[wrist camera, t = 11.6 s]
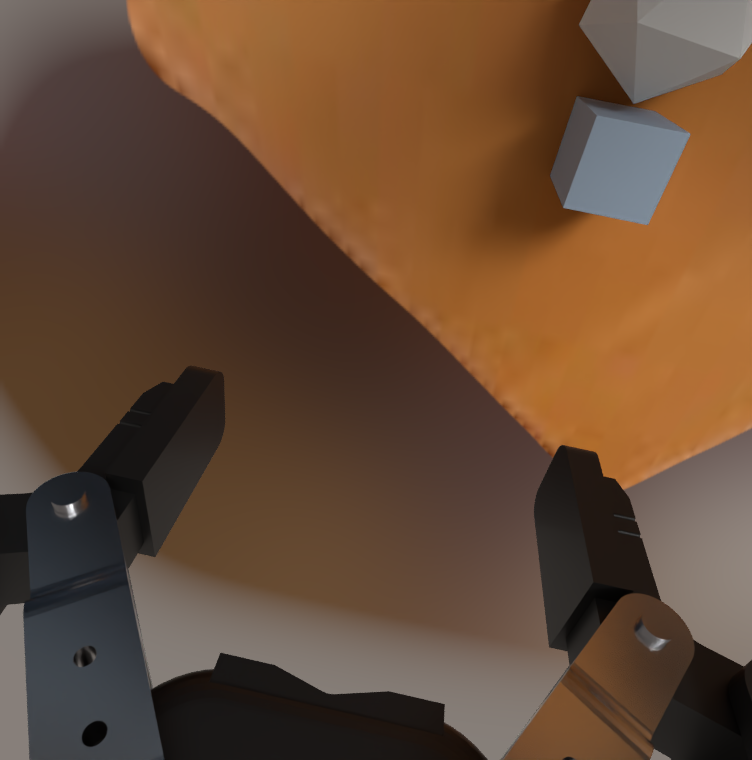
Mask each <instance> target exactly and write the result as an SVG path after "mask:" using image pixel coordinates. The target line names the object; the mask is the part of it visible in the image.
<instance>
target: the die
mask: <svg viewBox="0 0 752 760" xmlns="http://www.w3.org/2000/svg"><path fill="white" fill-rule="evenodd" d="M579 26H580V27H581V29H582V30H583V32H584V33H585V35H586V36H587V38H588V39H589V40H590V42H591V43H592V45H593V46H594V48H595V49H596V50H597V52H598V53H599V55H600V56H601V58H602V59H603V60H604V62H605V63H606V65H607V66H608V68H609V69H610V71H611V72H612V73H613V75H614V76H615V78H616V79H617V81H618V82H619V83H620V85H621V86H622V88H623V89H624V91H625V92H626V94H627V95H628V96H629V98H630V99H631V101H632V102H633V104H635V103H638V102H641V101H644V100H647V99H650V98H653V97H656V96H659V95H662V94H665V93H668V92H671V91H674V90H677V89H680V88H683V87H686V86H689V85H692V84H695V83H698V82H701V81H704V80H707V79H710V78H713V77H716V76H719V75H721V74H723V73H724V72H725V71H726V70H728V69H729V68H730V67H731V66H732V65H734V64H735V63H736V62H737V61H738V60H740V59H741V57H742V56H743V54H744V53H745V52H746V50H747V49H748V47H749V46H750V44H751V43H752V0H591V1H590V3H589V5H588V7H587V9H586V11H585V13H584V15H583V17H582V19H581V21H580V23H579Z"/></svg>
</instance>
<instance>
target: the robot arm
mask: <svg viewBox="0 0 752 760" xmlns="http://www.w3.org/2000/svg"><path fill="white" fill-rule="evenodd" d="M224 427H225V400H224V377H223V374H222V372H219V371H214V370H210V369H205V368H200V367H195V366H188V367H187V368H186V369H185V370H184V372H183V373H182V374H181V375H180V377H179V378H178V379H177V381H176V382H175V383H174V384H171V383H166V382H162V383H160V384H158V385H156V386H155V387H153V388H151V389H150V390H148V391H146V392H144V393H143V394H142V395H141V396H140V398H139V399H138V400H137V401H136V402H135V404H134V405H133V406H132V407H131V409H130V412H129V411H128V412H127V413H126V414H125V416H124V417H123V418H122V419H121V420H120V424H117V425H116V426H115V427H114V429H113V430H112V431H111V432H110V433H109V435H108V436H107V437H106V438H105V439H104V441H103V442H102V443H101V444H100V445H99V447H98V448H97V449H96V450H95V451H94V453H93V454H92V455H91V456H90V457H89V459H88V460H87V461H86V462H85V463H84V465H83V466H82V467H81V468H80V469H79V470H78V471H77V472H71V473H66V474H62V475H59V476H57V477H54V478H52V479H50V480H48V481H46V482H45V483H43V484H42V485H40V486H39V487H38V488H37V489H36V490H35V491H34V492H33V493H25V494H5V495H0V614H1V613H2V611H3V610H4V609H5V607H6V606H7V605H8V604H19V603H24V610H23V619H24V644H25V667H26V690H27V712H28V735H29V759H30V760H487V758H486V757H485V756H484V755H483V754H482V753H481V751H479V749H478V748H477V747H476V746H475V745H474V744H473V743H472V742H471V741H469V740H468V739H467V738H466V737H465V736H464V735H462V734H461V733H460V732H458V731H457V730H456V729H454V728H453V727H451V726H449V725H448V724H446V723H444V707H445V704H441V703H437V702H432V701H428V700H424V699H419V698H415V697H411V696H406V695H402V694H398V693H393V692H389V691H388V692H370V693H352V694H327V693H325V692H322V691H321V690H319V689H317V688H315V687H313V686H311V685H310V684H308V683H306V682H304V681H303V680H301V679H299V678H297V677H295V676H293V675H291V674H290V673H288V672H286V671H284V670H283V669H281V668H279V667H277V666H275V665H272V664H267V663H263V662H259V661H254V660H250V659H246V658H241V657H237V656H232V655H228V654H223V653H220V656H219V658H218V661H217V663H216V666H215V668H214V669H212V670H202V671H196V672H191V673H188V674H185V675H182V676H178V677H175V678H173V679H171V680H169V681H167V682H164V683H162V684H160V685H158V686H157V687H155V688H153V686H152V681H151V676H150V672H149V667H148V662H147V658H146V653H145V648H144V644H143V639H142V634H141V629H140V624H139V619H138V614H137V609H136V604H135V600H134V595H133V590H132V585H131V580H130V575H129V570H128V568H129V567H130V565H131V563H132V562H133V560H134V558H135V557H136V555H137V553H140V554H144V555H149V556H153V557H155V556H156V555H157V553H158V551H159V549H160V548H161V546H162V544H163V542H164V541H165V539H166V537H167V535H168V534H169V532H170V530H171V528H172V527H173V525H174V523H175V521H176V520H177V518H178V516H179V514H180V513H181V511H182V509H183V507H184V505H185V504H186V502H187V500H188V499H189V497H190V495H191V493H192V492H193V490H194V488H195V486H196V485H197V483H198V481H199V479H200V478H201V476H202V474H203V472H204V471H205V469H206V467H207V465H208V464H209V462H210V460H211V458H212V457H213V455H214V453H215V451H216V450H217V448H218V446H219V444H220V442H221V439H222V436H223V432H224ZM534 518H535V527H536V535H537V543H538V544H537V545H538V553H539V562H540V571H541V580H542V588H543V597H544V606H545V615H546V623H547V632H548V641H549V647H551V648H555V649H560V650H564V651H568V656H569V664H570V665H569V667H568V668H567V670H566V671H565V672H564V674H563V675H562V676H561V678H560V679H559V680H558V682H557V683H556V684H555V686H554V687H553V689H552V690H551V691H550V693H549V694H548V695H547V697H546V698H545V700H544V701H543V702H542V703H541V705H540V706H539V708H538V709H537V710H536V712H535V713H534V715H533V716H532V717H531V719H530V720H529V721H528V723H527V724H526V725H525V727H524V728H523V729H522V731H521V732H520V734H519V735H518V736H517V738H516V739H515V740H514V742H513V743H512V744H511V746H510V747H509V748H508V750H507V751H506V752H505V754H504V755H503V756H502V758H501V759H500V760H650V758H651V756H652V753H653V750H654V749H656V750H658V751H659V752H661V753H663V754H665V755H666V756H668V757H670V758H671V760H752V660H751V661H750V662H749V663H748V664H746V666H744V667H743V666H741V665H740V664H738V663H736V662H734V661H732V660H730V659H728V658H726V657H724V656H722V655H720V654H718V653H716V652H714V651H712V650H710V649H708V648H706V647H704V646H703V645H701V644H699V643H697V642H696V641H695V640H693V638H692V635H691V633H690V631H689V629H688V627H687V625H686V624H685V623H684V621H683V620H682V619H681V617H680V616H679V615H678V614H677V613H676V612H675V611H674V610H673V609H671V608H670V607H669V606H668V605H666V604H664V603H663V602H662V601H661V599H660V596H659V593H658V590H657V586H656V583H655V580H654V577H653V573H652V570H651V567H650V564H649V560H648V557H647V554H646V551H645V548H644V544H643V541H642V539H641V538H640V531H639V528H638V525H637V522H635V515H634V512H633V508H632V505H631V502H630V499H629V497H628V496H627V494H626V493H625V492H624V490H623V489H622V488H621V486H620V485H619V484H618V482H617V481H616V480H615V479H613V478H608V477H603V473H602V469H601V466H600V462H599V458H598V455H597V454H596V453H595V452H593V451H588V450H584V449H579V448H574V447H569V446H565V445H561V446H560V447H559V448H558V450H557V452H556V454H555V456H554V458H553V460H552V462H551V464H550V466H549V468H548V470H547V472H546V474H545V476H544V478H543V481H542V483H541V484H540V487H539V489H538V491H537V495H536V499H535V505H534Z"/></svg>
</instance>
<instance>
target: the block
mask: <svg viewBox="0 0 752 760" xmlns="http://www.w3.org/2000/svg"><path fill="white" fill-rule="evenodd" d="M689 136H690V133H688V132H687V131H685V130H684V129H682V128H681V127H679V126H677V125H676V124H674V123H673V122H671V121H670V120H668V119H666V118H665V117H663V116H662V115H660V114H659V113H657V112H655V111H651V110H646V109H641V108H636V107H631V106H626V105H621V104H616V103H610V102H605V101H600V100H595V99H590V98H585V97H580V96H577V97H576V100H575V103H574V106H573V109H572V112H571V115H570V118H569V121H568V124H567V127H566V130H565V133H564V136H563V139H562V142H561V145H560V148H559V151H558V153H557V156H556V159H555V162H554V165H553V168H552V171H551V174H550V177H551V180H552V182H553V185H554V187H555V189H556V192H557V194H558V197H559V199H560V201H561V204H562V206H563V208H567V209H571V210H576V211H581V212H586V213H591V214H596V215H601V216H606V217H611V218H616V219H621V220H626V221H630V222H635V223H640V224H645V225H648V224H649V221H650V219H651V217H652V215H653V213H654V211H655V209H656V207H657V204H658V202H659V200H660V198H661V196H662V194H663V192H664V190H665V187H666V185H667V183H668V181H669V179H670V177H671V175H672V173H673V170H674V168H675V166H676V164H677V162H678V160H679V158H680V156H681V153H682V151H683V149H684V147H685V145H686V143H687V141H688V139H689Z"/></svg>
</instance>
